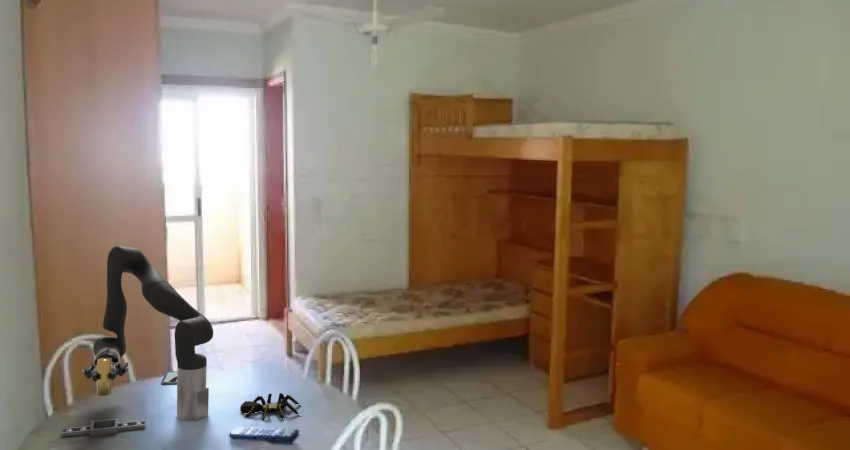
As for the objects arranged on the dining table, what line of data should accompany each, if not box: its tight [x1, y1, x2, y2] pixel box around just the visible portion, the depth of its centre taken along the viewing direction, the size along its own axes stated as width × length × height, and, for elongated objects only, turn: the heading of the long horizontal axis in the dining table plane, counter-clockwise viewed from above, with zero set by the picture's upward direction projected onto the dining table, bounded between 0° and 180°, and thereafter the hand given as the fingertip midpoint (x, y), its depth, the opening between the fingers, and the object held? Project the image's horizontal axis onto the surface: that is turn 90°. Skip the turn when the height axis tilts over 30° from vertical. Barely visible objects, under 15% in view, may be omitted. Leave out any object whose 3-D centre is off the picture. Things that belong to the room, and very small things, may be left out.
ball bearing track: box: [60, 418, 146, 438], centre depth 209 cm, size 24×8×2 cm, turn 113°
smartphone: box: [160, 370, 177, 386], centre depth 260 cm, size 7×1×15 cm
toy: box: [239, 392, 300, 421], centre depth 231 cm, size 18×21×5 cm
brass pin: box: [96, 358, 112, 397], centre depth 208 cm, size 4×4×11 cm
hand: (103, 377), depth 205 cm, fingers closed on brass pin, 4 cm apart
